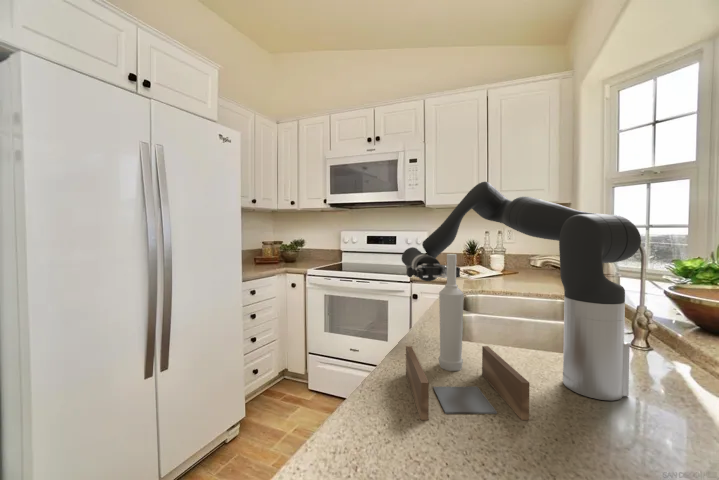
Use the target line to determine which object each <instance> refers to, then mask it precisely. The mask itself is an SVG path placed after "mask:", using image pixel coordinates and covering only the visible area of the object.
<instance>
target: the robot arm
mask: <svg viewBox="0 0 719 480" xmlns="http://www.w3.org/2000/svg"><path fill="white" fill-rule="evenodd" d="M471 210H473V211H474V212H475V213H476V214H478V215H479V216H480V217H481V218H483V219H484V220H487V221H490V222H496V223H500V224H502V225H504V226H506V227H508V228H511V229H512V230H514V231H517V232H518V233H521V234H522V235H523V234H524V235H527V236H529V237H533V238H537V239H544V240H549V241H550V240H551V241H558V246H559V247H558V248H559V249H558V250H559V251H558V252H559V269H560V280H561V284H562V286H563V292H564V296H563V297H564V301H563V305H564V306H563V351H562V352H563V354H562V355H563V357H562V358H563V361H562V383H563V385H564V386H565V387H566V388H567V389H569V390H570V391H572V392H575V393H576V394H579V395H580V396H584V397H588V398H592V399H596V400H602V401H618V400H621V399H622V398H623V397H628V396H629V389H630V388H629V387H630V386H629V384H630V343H627V342H625V320H626V319H625V317H626V316H625V312H626V307H625V306H626V290H625V288H624V286H622V284H619V283H616V282H614V281H612V280H610V279H608V278H607V277H606V275H605V273H604V268H603V264H613V263H617V262H618V263H619V262H623V261H626V260H628V259H630V258H632V257H633V256H634V255H636V253H637V252H638V251H639V250H640V247H641V244H642V235H641V233H640V231H639V229H638V228H637V226H636V225H635V224H634V223H633V222H632V221H630V220H629V219H628V218H626V217H624V216H621V215H617V214H606V213H597V212H588V211H581V210H577V209H574V208H571V207H568V206H565V205H562V204H558V203H555V202H552V201H548V200H545V199H540V198H537V197H532V196H518V197H517V198H514V199H513V200H511V199H509V198H507V197H506V196H505V195H504V194H502V193H501V191H499V190H498V189H497V188H496V187H495V186H493V184H491V182H488V181H482V182H479V183H478V184H476V185H475V186H473V187H472V188H471V189H470V190H469V191H468V193H466V195H464V197H463V198H462V199H461V201H460V202H459V203H458V204H457V205H456V206H455V208H454V209H453V210H452V211H451V213H450V214H449V215H448V216H447V217H446V218H445V220H444V221H443V222H442V223H441V224H440V225H439V227H437V228H436V229H435V230H434V231H433V232H432V233H431V234H430V235H428V236H427V238H425V239H424V240H423V241H422V248H423V250H424V251H425V253H426V254H424V253H423V252H421V251H420V250H419V249H418V248H417V247H413V246H412V247H408V248H407V249H405V250H404V251H403V252H402V255H401V262H402V263H403V264H404V265H405V271H406V272H405V273H406V277H408V278H411V277H413V276H414V278H418V279H420V280H421V281H423V282H432V281H434V280H436V279H437V278H441V279H442V278H443V279H447V264H441V263H440V262H439V259H437V258H438V257H439V255H441V253H443V252H444V251H445V250H446V249H447V248H448V247H450V246H451V245H452V244H453V242H455V239H456V237H457V235H458V232H459V228H460V226H461V222H462V220H463V219H464V217H465V215H467V213H468V212H469V211H471ZM460 277H461V267H459V266H456V278H460Z"/></svg>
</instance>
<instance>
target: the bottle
mask: <svg viewBox="0 0 719 480" xmlns="http://www.w3.org/2000/svg"><path fill="white" fill-rule="evenodd" d="M446 265H447V278H446V284H444V287H443V288H442V289H440V291H439V294H438V295H439V357H438V364H439V366H440V368H441V369H443V370H446V371H448V372H457V371H458V372H460V371H461V370H462V368H463V364H464V359H463V355H462V354H463V324H464V323H463V322H464V291H462V290H461V289H460V288H459V286H458V284H457V277H456V267H457V254H456V253H455V254H454V253H447V254H446Z"/></svg>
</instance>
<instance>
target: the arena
mask: <svg viewBox="0 0 719 480" xmlns="http://www.w3.org/2000/svg"><path fill="white" fill-rule="evenodd" d="M481 348H482V349H481V352H482V353H481V354H482V355H481V359H482V360H481V375H482V377H484V378H485V380H486V381H487V382H488V383H489V385H490V386H491V387H492V388H493V389H494V391H496V393H498V395H499V396H500V397H501V398H502V399H503V401H504V402H505V403H506V404H507V405H508V406H509V407H510V409H511V410H512V411H513V412H514V413H515V414H516V415H517V416H518V417H519V419H520V420H521V421H529V420H530V382H529V380H527V379H526V378H525V377H524V376H523V375H521V374H520V373H519V372H518V371H517V370H515V368H514V367H512V366H511V365H510V364H509V363H508V362H507V361H505V360H504V359H503V358H502V357H501V356H500V355H499V354H498V353H497V352H496V351H494V350H493V349H492V348H491V347H490V346H487V345H482V347H481ZM405 376H406V379H407V382H408V384H409V385H408V386H409V388H410V391H411V394H412V396H413V400H414V403H415V406H416V409H417V412H418V416H419V419H420V420H421V421H429V420H430V419H429V418H430V416H429V411H430V410H429V408H430V407H429V406H430V405H429V403H430V401H429V400H430V399H429V398H430V397H429V395H430V392H429V390H430V389H429V387H430V382H429V380H428V378H427V375H426V374H425V372H424V369H423V367H422V366H421V363H420V361H419V358H418V357H417V355H416V353H415V350H414V348H413V346H412V345H406V346H405ZM432 389H433V391H434V393H435V395H436V398H437V399H438V402H439V403H440V406H441V408H442V410H443V412H444V414H447V415H448V414H451V415H452V414H453V415H454V414H455V415H456V414H460V415H461V414H464V415H465V414H466V415H467V414H468V415H469V414H470V415H471V414H472V415H473V414H474V415H477V414H478V415H479V414H480V415H481V414H483V415H484V414H488V415H489V414H491V415H492V414H495V415H496V414H498V411H497V410H496V409H495V407H494V406H493V405H492V403H490V401H489V400H488V397H486V396H485V395H484V393H483V392H482V390H480V388H479V386H433V387H432Z"/></svg>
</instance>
